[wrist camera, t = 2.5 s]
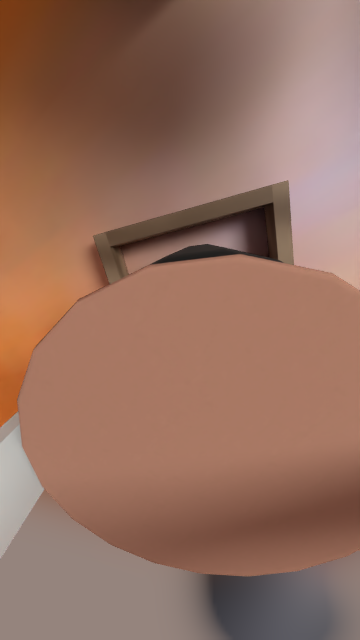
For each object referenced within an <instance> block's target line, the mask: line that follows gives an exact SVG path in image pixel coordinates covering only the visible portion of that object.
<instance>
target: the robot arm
mask: <svg viewBox="0 0 360 640" xmlns="http://www.w3.org/2000/svg"><path fill="white" fill-rule="evenodd" d="M43 491H44V488H43V487H42V485H41V483H40V481H39V479H38V477H37V475H36V473H35V471H34V469H33V467H32V465H31V463H30V461H29V459H28V457H27V455H26V453H25V451H24V449H23V447H22V441H21V432H20V422H19V413H18V412H17V413H16V414H15V415H13V416H12V417H11V418H10V419H9V420H8V421H7V422H6V423H5V424H4V425H3V426H2V427H0V559H1V557H2V556H3V554H4V552H5V551H6V549H7V548H8V546H9V544H10V543H11V541H12V540H13V538H14V537H15V535H16V533H17V532H18V530H19V529H20V527H21V525H22V524H23V522H24V521H25V519H26V517H27V516H28V514H29V513H30V511H31V510H32V508H33V506H34V504H35V503H36V502H37V500H38V498H39V497H40V495H41V494H42V492H43Z"/></svg>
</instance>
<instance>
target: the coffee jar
mask: <svg viewBox="0 0 360 640" xmlns="http://www.w3.org/2000/svg"><path fill="white" fill-rule="evenodd" d="M17 403H18V413H19V422H20V432H21V441H22V447H23V449H24V451H25V453H26V455H27V457H28V459H29V461H30V463H31V465H32V467H33V469H34V471H35V473H36V475H37V477H38V479H39V481H40V483H41V485H42V487H43V488H44V489H45V490H46V491H47V492H48V493H49V494H50V495H51V497H52V498H53V499H54V500H55V501H56V502H57V503H58V504H59V505H60V506H61V507H62V508H63V509H64V510H65V511H66V513H67V514H68V515H69V516H70V517H71V518H72V519H73V520H75V521H76V522H78V523H79V524H81V525H82V526H84V527H85V528H87V529H88V530H90V531H91V532H93V533H94V534H96V535H97V536H99V537H100V538H102V539H103V540H105V541H106V542H108V543H109V544H111V545H113V546H115V547H117V548H120V549H123V550H125V551H127V552H129V553H132V554H134V555H137V556H139V557H141V558H144V559H146V560H148V561H151V562H154V563H157V564H162V565H166V566H170V567H175V568H179V569H183V570H188V571H192V572H196V573H204V574H219V575H235V576H255V575H265V574H274V573H284V572H293V571H299V570H303V569H306V568H309V567H313V566H316V565H319V564H323V563H326V562H329V561H333V560H336V559H339V558H343V557H346V556H348V555H350V554H352V553H354V552H355V551H357V550H359V549H360V290H358V289H356V288H355V287H353V286H352V285H350V284H348V283H347V282H345V281H344V280H342V279H341V278H339V277H337V276H336V275H334V274H333V273H329V272H324V271H319V270H314V269H310V268H305V267H300V266H295V265H290V264H286V263H283V262H282V261H280V260H276V259H272V258H268V257H263V256H259V255H254V254H250V253H246V252H241V251H237V250H232V249H228V248H224V247H219V246H214V245H209V244H204V245H197V246H189V247H187V248H184V249H182V250H180V251H178V252H175V253H173V254H171V255H168V256H166V257H164V258H162V259H160V260H158V261H156V262H154V263H152V264H150V265H148V266H146V267H144V268H142V269H140V270H138V271H136V272H134V273H132V274H129V275H127V276H125V277H123V278H121V279H119V280H117V281H115V282H113V283H111V284H109V285H107V286H105V287H103V288H101V289H99V290H97V291H95V292H93V293H91V294H89V295H86V296H84V297H82V298H80V299H79V300H78V301H77V302H76V303H75V304H74V305H73V306H72V307H71V308H70V309H69V311H68V312H67V313H66V314H65V315H64V316H63V317H62V318H61V319H60V320H59V321H58V323H57V324H56V325H55V326H54V327H53V328H52V329H51V330H50V331H49V332H48V334H47V335H46V336H45V337H44V338H43V339H42V340H41V341H40V342H39V343H38V345H37V346H36V347H35V348H34V350H33V353H32V356H31V359H30V362H29V365H28V368H27V371H26V375H25V378H24V381H23V384H22V387H21V390H20V393H19V396H18V399H17Z"/></svg>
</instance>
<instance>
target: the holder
mask: <svg viewBox="0 0 360 640" xmlns="http://www.w3.org/2000/svg"><path fill="white" fill-rule="evenodd" d="M262 207H264V209H265V219H266V229H267V239H268V249H269V258H272V259H276V260H280V261H282V262H283V263H286V264H290V265H294V259H293V244H292V228H291V213H290V197H289V182H288V180H287V181H284V182H280V183H277V184H273V185H270V186H266V187H263V188H259V189H256V190H252V191H249V192H245V193H242V194H238V195H235V196H231V197H228V198H224V199H221V200H217V201H213V202H210V203H206V204H203V205H199V206H196V207H192V208H189V209H185V210H182V211H178V212H175V213H171V214H168V215H164V216H161V217H157V218H154V219H150V220H147V221H143V222H140V223H136V224H133V225H129V226H126V227H122V228H118V229H115V230H111V231H108V232H104V233H101V234H97V235H94V236H93V238H94V241H95V243H96V246H97V249H98V252H99V255H100V258H101V261H102V263H103V266H104V269H105V272H106V275H107V278H108V280H109V283H110V284H111V283H113V282H115V281H117V280H119V279H121V278H123V277H125V276H127V275H129V273H128V270H127V267H126V264H125V261H124V258H123V254H122V251H121V248H120V246H121V245H125V244H129V243H132V242H136V241H140V240H144V239H147V238H151V237H155V236H158V235H162V234H166V233H170V232H173V231H177V230H181V229H184V228H188V227H192V226H196V225H199V224H203V223H207V222H210V221H214V220H218V219H221V218H225V217H229V216H233V215H236V214H240V213H244V212H247V211H251V210H255V209H259V208H262Z"/></svg>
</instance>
